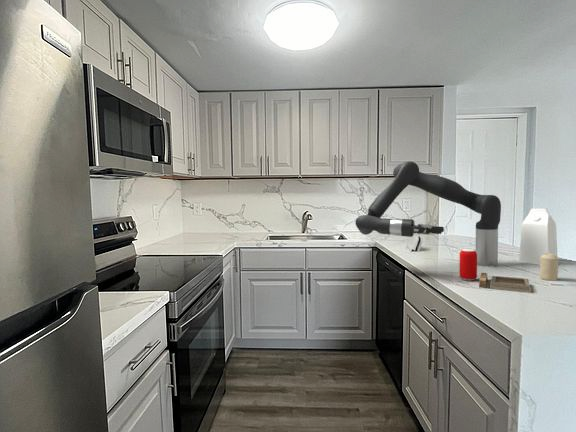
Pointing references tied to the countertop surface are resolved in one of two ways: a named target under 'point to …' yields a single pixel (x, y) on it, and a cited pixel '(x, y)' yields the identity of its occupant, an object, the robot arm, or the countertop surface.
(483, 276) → the sill
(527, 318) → the countertop surface
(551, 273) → the candle
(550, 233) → the milk
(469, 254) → the beverage can
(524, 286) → the tray
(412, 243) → the hinge
